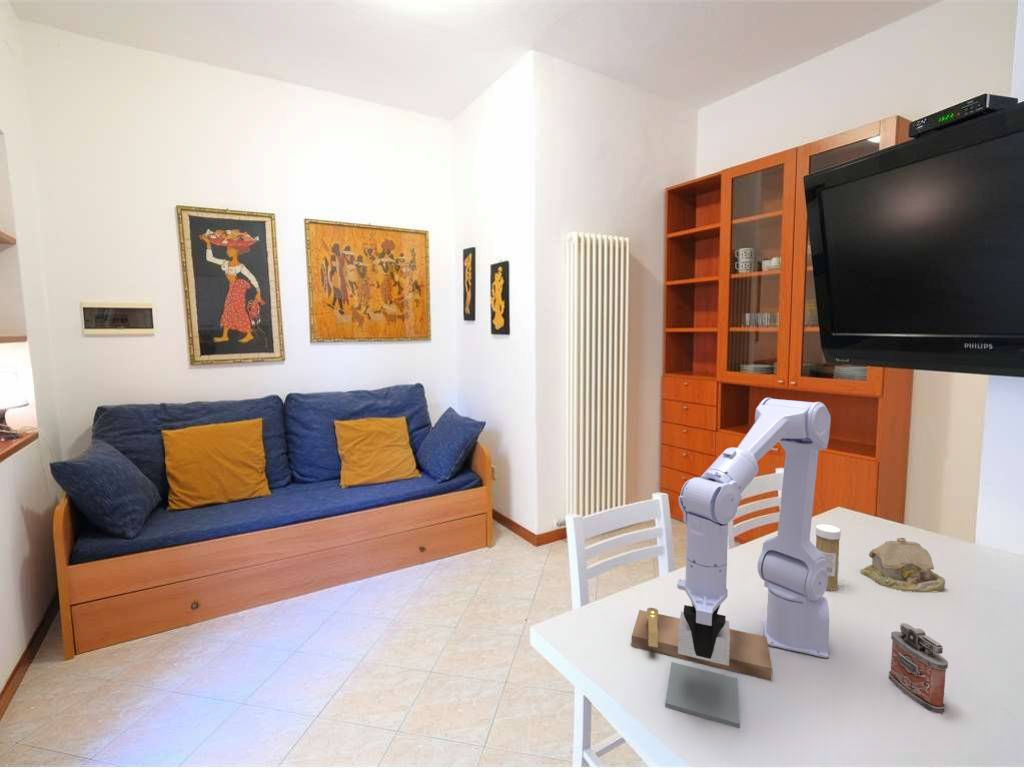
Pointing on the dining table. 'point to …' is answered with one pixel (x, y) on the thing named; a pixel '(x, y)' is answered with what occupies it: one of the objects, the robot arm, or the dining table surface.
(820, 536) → the sprinkles bottle
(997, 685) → the dining table surface
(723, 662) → the light grey block
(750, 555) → the dining table surface
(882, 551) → the ceramic model
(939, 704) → the lighter
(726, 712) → the mat
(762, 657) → the brown wooden board
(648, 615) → the lever
